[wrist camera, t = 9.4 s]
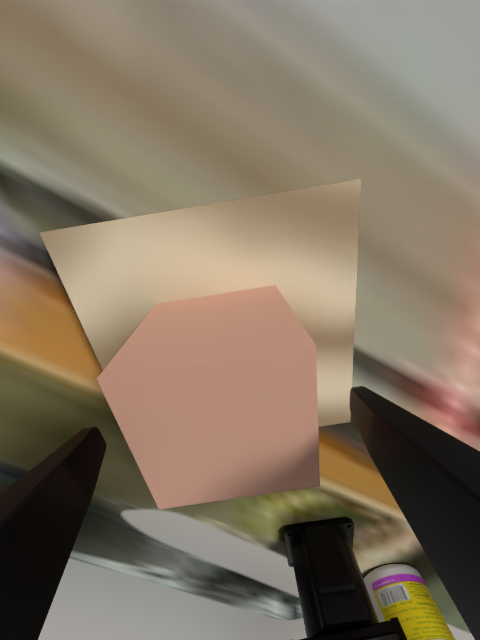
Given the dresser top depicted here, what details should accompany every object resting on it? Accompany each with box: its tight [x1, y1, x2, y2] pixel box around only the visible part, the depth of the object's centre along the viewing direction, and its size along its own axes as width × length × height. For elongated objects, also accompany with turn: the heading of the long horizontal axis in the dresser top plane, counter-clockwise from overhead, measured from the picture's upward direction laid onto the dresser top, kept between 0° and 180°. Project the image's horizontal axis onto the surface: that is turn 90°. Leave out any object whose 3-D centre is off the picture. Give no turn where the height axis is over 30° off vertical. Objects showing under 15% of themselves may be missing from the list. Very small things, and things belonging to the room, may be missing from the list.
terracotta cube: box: [97, 285, 320, 509], centre depth 11 cm, size 6×6×6 cm
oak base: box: [40, 179, 361, 427], centre depth 14 cm, size 14×14×2 cm
